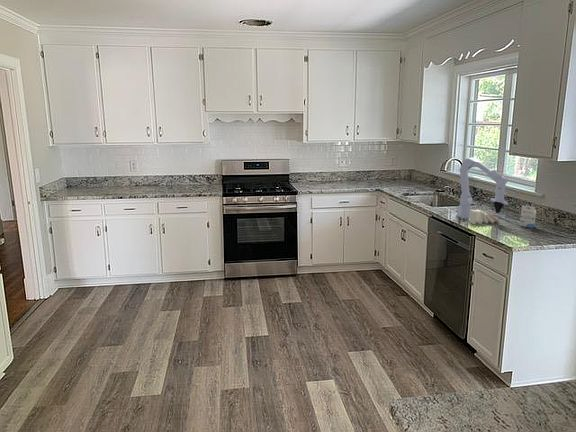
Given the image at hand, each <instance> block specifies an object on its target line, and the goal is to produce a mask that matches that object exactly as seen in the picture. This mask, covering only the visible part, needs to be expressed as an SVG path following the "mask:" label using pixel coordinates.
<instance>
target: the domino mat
mask: <svg viewBox="0 0 576 432" xmlns="http://www.w3.org/2000/svg"><path fill="white" fill-rule="evenodd" d="M496 219H497V220H499V221H500V222H499V223H497V222H496V221H494V220H493V219H492V220H493V221H494V223H491V222H488V223H487V224H486V223H484V222H482V224H479V223H477V222H476V224H472V223H470V222H469V221H470V219H469V220H467V219H466V220H464V222H466V223H468V224H471V225H474V226H476V225H502V224H505V225H506V224H510V222H508V221H505V220H503V219H500V218H499V219H498V218H496Z"/></svg>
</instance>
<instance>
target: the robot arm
mask: <svg viewBox="0 0 576 432" xmlns="http://www.w3.org/2000/svg"><path fill="white" fill-rule="evenodd" d="M472 168H478V169H479V170H481V171H483V172H484V173H485V174H486V175H487V177H488V178H489V179H491V180H492V181H493V182H495V184H496V187H495V193H494V194H495V195H494V198H493V197H491V198H490V199H489V200H490V202H493V206H494V210H495V214H500V213H501V210H502V208H503V207H504V206H505V205H507V206H508V205H509V201H506V200H505V193H506V184H507V183H508V178H507V177H506V176H504V175H503V174H500V173H499V172H497V170H496V169H490V168H489V167H487V165H485V164H484V163H482V162H481V161H480V160H479V159H476V158H475V157H469V158H468V157H467V158H465V159H464V160H462V163H461V166H460V168H459V175H460V190H461V194H460V199H459V205H458V206H457V211H456V215H455V217H458V218H460V219H463V220H464V219H470V212H471V210H472V203H473V201H474V199H473V197H472V194H471V192H470V183H469V171H470V169H472Z"/></svg>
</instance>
